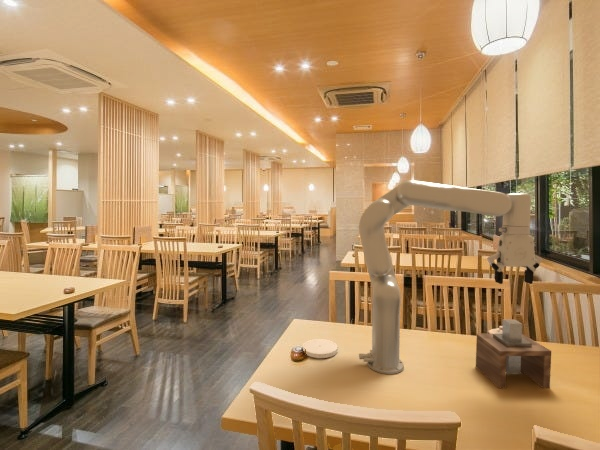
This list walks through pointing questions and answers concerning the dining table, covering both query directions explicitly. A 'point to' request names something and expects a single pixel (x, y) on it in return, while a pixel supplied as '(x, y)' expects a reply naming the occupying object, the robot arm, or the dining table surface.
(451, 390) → the dining table surface
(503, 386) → the slotted bridge
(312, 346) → the plastic lid
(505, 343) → the collared peg
